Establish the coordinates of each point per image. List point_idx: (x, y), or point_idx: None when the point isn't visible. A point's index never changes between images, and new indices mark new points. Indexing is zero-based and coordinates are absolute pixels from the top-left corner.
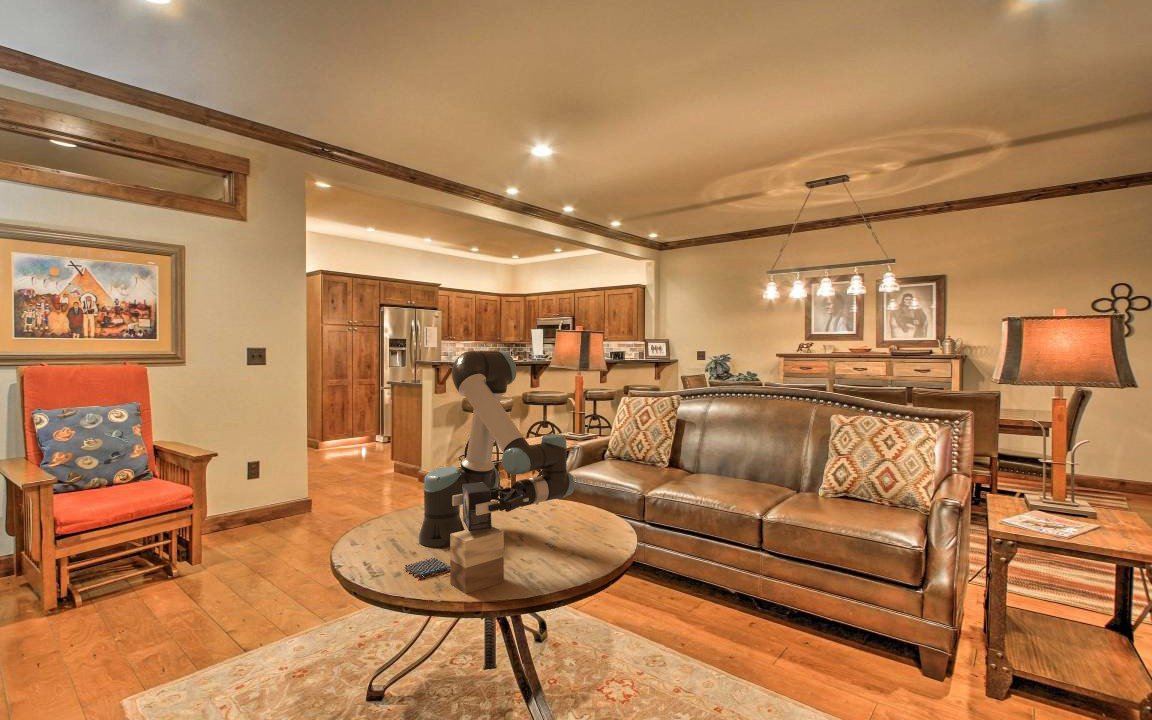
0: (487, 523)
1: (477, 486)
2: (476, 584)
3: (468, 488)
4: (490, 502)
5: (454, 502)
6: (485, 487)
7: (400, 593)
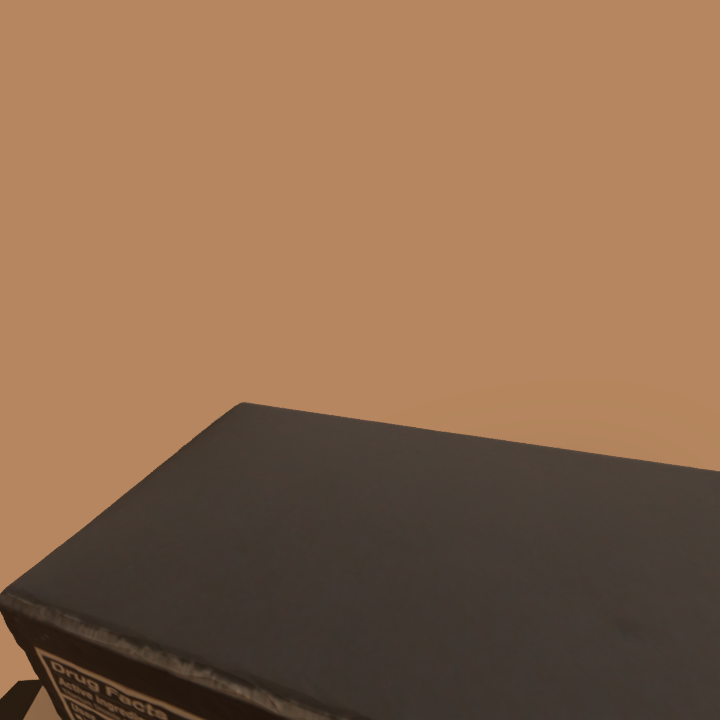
0: None
1: (418, 533)
2: None
3: (407, 440)
4: (40, 696)
5: None
6: (241, 607)
7: None
